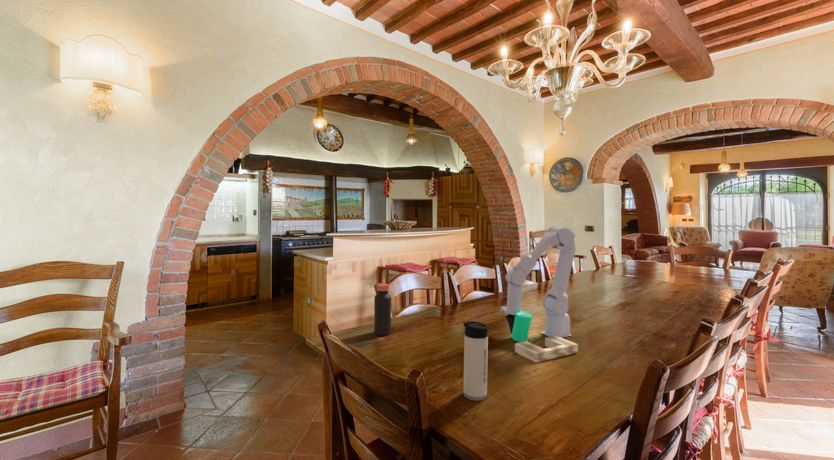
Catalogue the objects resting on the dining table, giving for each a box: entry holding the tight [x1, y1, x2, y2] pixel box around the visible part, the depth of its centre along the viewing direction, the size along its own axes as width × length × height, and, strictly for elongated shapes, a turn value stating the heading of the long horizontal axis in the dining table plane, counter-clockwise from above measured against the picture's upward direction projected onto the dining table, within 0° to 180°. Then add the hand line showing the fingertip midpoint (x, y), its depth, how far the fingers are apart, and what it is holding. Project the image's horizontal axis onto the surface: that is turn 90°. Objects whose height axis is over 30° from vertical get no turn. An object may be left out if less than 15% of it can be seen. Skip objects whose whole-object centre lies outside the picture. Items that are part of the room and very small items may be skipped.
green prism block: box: [510, 310, 533, 343], centre depth 139 cm, size 6×6×12 cm
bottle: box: [373, 283, 392, 337], centre depth 146 cm, size 7×7×20 cm
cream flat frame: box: [514, 336, 579, 363], centre depth 128 cm, size 20×10×3 cm, turn 116°
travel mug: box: [462, 320, 489, 402], centre depth 97 cm, size 6×7×20 cm
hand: (513, 333), depth 143 cm, fingers closed
